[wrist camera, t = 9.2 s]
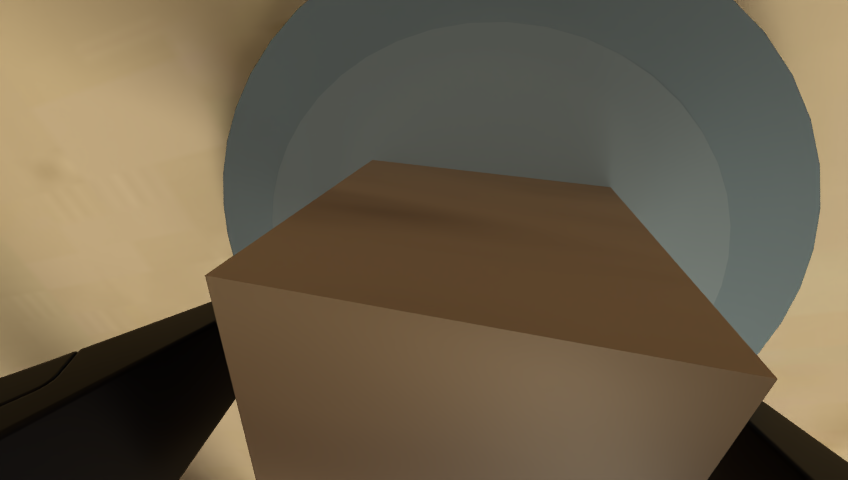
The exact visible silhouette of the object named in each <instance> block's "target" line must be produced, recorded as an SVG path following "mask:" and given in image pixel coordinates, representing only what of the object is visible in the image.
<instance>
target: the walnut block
mask: <svg viewBox="0 0 848 480" xmlns="http://www.w3.org/2000/svg"><path fill="white" fill-rule="evenodd" d="M205 277H206V281H207V285H208V289H209V293H210V297H211V301H212V305H213V309H214V313H215V317H216V321H217V325H218V329H219V333H220V337H221V341H222V345H223V349H224V353H225V357H226V361H227V365H228V369H229V373H230V377H231V381H232V385H233V389H234V393H235V397H236V401H237V405H238V409H239V413H240V417H241V421H242V426H243V430H244V434H245V438H246V442H247V446H248V450H249V454H250V458H251V462H252V466H253V470H254V474H255V478H256V480H707V479H708V478H709V477H710V475H711V474H712V472H713V471H714V469H715V468H716V467H717V465H718V464H719V462H720V461H721V459H722V458H723V457H724V455H725V454H726V452H727V451H728V449H729V448H730V447H731V445H732V444H733V442H734V441H735V439H736V438H737V436H738V435H739V434H740V432H741V431H742V429H743V428H744V426H745V425H746V424H747V422H748V421H749V419H750V418H751V416H752V415H753V414H754V412H755V411H756V409H757V408H758V406H759V405H760V403H761V402H762V401H763V399H764V398H765V396H766V395H767V393H768V392H769V391H770V389H771V388H772V386H773V385H774V383H775V382H776V381H777V378H776V377H775V376H774V374H773V373H772V372H771V371H770V370H769V369H768V368H767V366H766V365H765V364H764V363H763V362H762V361H761V359H760V358H759V357H758V356H757V355H756V354H755V353H754V351H753V350H752V349H751V348H750V347H749V346H748V345H747V343H746V342H745V341H744V340H743V339H742V338H741V336H740V335H739V334H738V333H737V332H736V331H735V330H734V328H733V327H732V326H731V325H730V324H729V323H728V322H727V320H726V319H725V318H724V317H723V316H722V315H721V313H720V312H719V311H718V310H717V309H716V308H715V307H714V305H713V304H712V303H711V302H710V301H709V300H708V299H707V297H706V296H705V295H704V294H703V293H702V292H701V291H700V289H699V288H698V287H697V286H696V285H695V284H694V282H693V281H692V280H691V279H690V278H689V277H688V276H687V274H686V273H685V272H684V271H683V270H682V269H681V268H680V266H679V265H678V264H677V263H676V262H675V261H674V259H673V258H672V257H671V256H670V255H669V254H668V253H667V251H666V250H665V249H664V248H663V247H662V246H661V245H660V243H659V242H658V241H657V240H656V239H655V238H654V236H653V235H652V234H651V233H650V232H649V231H648V230H647V228H646V227H645V226H644V225H643V224H642V223H641V222H640V220H639V219H638V218H637V217H636V216H635V215H634V213H633V212H632V211H631V210H630V209H629V208H628V207H627V205H626V204H625V203H624V202H623V201H622V200H621V199H620V197H619V196H618V195H617V194H616V193H615V192H614V191H613V189H612V188H611V187H604V186H595V185H587V184H578V183H569V182H561V181H552V180H543V179H534V178H526V177H517V176H508V175H500V174H491V173H482V172H474V171H465V170H456V169H447V168H439V167H430V166H421V165H413V164H404V163H395V162H386V161H378V160H371V161H370V162H368V163H367V164H366V165H364V166H363V167H361V168H360V169H358V170H357V171H355V172H354V173H353V174H351V175H350V176H348V177H347V178H345V179H344V180H342V181H341V182H340V183H338V184H337V185H335V186H334V187H332V188H331V189H329V190H328V191H326V192H325V193H324V194H322V195H321V196H319V197H318V198H316V199H315V200H313V201H312V202H311V203H309V204H308V205H306V206H305V207H303V208H302V209H300V210H299V211H298V212H296V213H295V214H293V215H292V216H290V217H289V218H287V219H286V220H285V221H283V222H282V223H280V224H279V225H277V226H276V227H274V228H273V229H272V230H270V231H269V232H267V233H266V234H264V235H263V236H261V237H260V238H258V239H257V240H256V241H254V242H253V243H251V244H250V245H248V246H247V247H245V248H244V249H243V250H241V251H240V252H238V253H237V254H235V255H234V256H232V257H231V258H230V259H228V260H227V261H225V262H224V263H222V264H221V265H219V266H218V267H217V268H215V269H214V270H212V271H211V272H209V273H208V274H206V275H205Z"/></svg>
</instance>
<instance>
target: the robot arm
mask: <svg viewBox="0 0 848 480" xmlns="http://www.w3.org/2000/svg"><path fill="white" fill-rule="evenodd" d="M235 399H236V397H235V393H234V389H233V385H232V381H231V377H230V373H229V369H228V365H227V361H226V357H225V353H224V349H223V345H222V341H221V337H220V333H219V329H218V325H217V321H216V317H215V313H214V309H213V305H212V302H209V303H206V304H204V305H201V306H198V307H196V308H193V309H190V310H187V311H185V312H182V313H179V314H176V315H174V316H171V317H168V318H165V319H163V320H160V321H157V322H154V323H152V324H149V325H146V326H143V327H141V328H138V329H135V330H133V331H130V332H127V333H124V334H122V335H119V336H116V337H113V338H111V339H108V340H105V341H102V342H100V343H97V344H94V345H91V346H89V347H86V348H83V349H81V350H80V351H79V352H72V353H69V354H66V355H64V356H61V357H58V358H56V359H53V360H50V361H47V362H45V363H42V364H39V365H36V366H33V367H30V368H27V369H25V370H22V371H19V372H16V373H13V374H10V375H7V376H4V377H1V378H0V480H179V479H180V478H181V476H182V475H183V473H184V472H185V470H186V469H187V468H188V466H189V465H190V463H191V462H192V460H193V459H194V458H195V456H196V455H197V453H198V452H199V450H200V449H201V448H202V446H203V445H204V443H205V442H206V440H207V439H208V437H209V436H210V435H211V433H212V432H213V430H214V429H215V427H216V426H217V425H218V423H219V422H220V420H221V419H222V417H223V416H224V415H225V413H226V412H227V410H228V409H229V407H230V406H231V405H232V403H233V402H234V400H235ZM707 480H848V462H847V461H845V460H844V459H843V458H841V457H840V456H838V455H837V454H836V453H834V452H833V451H831V450H830V449H829V448H827V447H826V446H824V445H823V444H822V443H820V442H819V441H817V440H816V439H815V438H813V437H812V436H810V435H809V434H808V433H806V432H805V431H804V430H802V429H801V428H799V427H798V426H797V425H795V424H794V423H792V422H791V421H790V420H788V419H787V418H785V417H784V416H783V415H781V414H780V413H778V412H777V411H776V410H774V409H773V408H771V407H770V406H769V405H767V404H766V403H764V402H763V401H762V402H761V403H760V405H759V406H758V408H757V409H756V411H755V412H754V414H753V415H752V416H751V418H750V419H749V421H748V422H747V424H746V425H745V426H744V428H743V429H742V431H741V432H740V434H739V435H738V436H737V438H736V439H735V441H734V442H733V444H732V445H731V447H730V448H729V449H728V451H727V452H726V454H725V455H724V457H723V458H722V459H721V461H720V462H719V464H718V465H717V467H716V468H715V469H714V471H713V472H712V474H711V475H710V477H709V478H708V479H707Z"/></svg>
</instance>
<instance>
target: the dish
mask: <svg viewBox="0 0 848 480" xmlns="http://www.w3.org/2000/svg"><path fill="white" fill-rule="evenodd" d="M371 160H378V161H386V162H395V163H404V164H413V165H421V166H430V167H439V168H447V169H456V170H465V171H474V172H482V173H491V174H500V175H508V176H517V177H526V178H534V179H543V180H552V181H561V182H569V183H578V184H587V185H595V186H604V187H611V188H612V189H613V191H614V192H615V193H616V194H617V195H618V196H619V197H620V199H621V200H622V201H623V202H624V203H625V204H626V205H627V207H628V208H629V209H630V210H631V211H632V212H633V213H634V215H635V216H636V217H637V218H638V219H639V220H640V222H641V223H642V224H643V225H644V226H645V227H646V228H647V230H648V231H649V232H650V233H651V234H652V235H653V236H654V238H655V239H656V240H657V241H658V242H659V243H660V245H661V246H662V247H663V248H664V249H665V250H666V251H667V253H668V254H669V255H670V256H671V257H672V258H673V259H674V261H675V262H676V263H677V264H678V265H679V266H680V268H681V269H682V270H683V271H684V272H685V273H686V274H687V276H688V277H689V278H690V279H691V280H692V281H693V282H694V284H695V285H696V286H697V287H698V288H699V289H700V291H701V292H702V293H703V294H704V295H705V296H706V297H707V299H708V300H709V301H710V302H711V303H712V304H713V305H714V307H715V308H716V309H717V310H718V311H719V312H720V313H721V315H722V316H723V317H724V318H725V319H726V320H727V322H728V323H729V324H730V325H731V326H732V327H733V328H734V330H735V331H736V332H737V333H738V334H739V335H740V336H741V338H742V339H743V340H744V341H745V342H746V343H747V345H748V346H749V347H750V348H751V349H752V350H753V351H754V353H755V354H756V355H757V354H758V353H759V352H760V351H761V349H762V348H763V347H764V345H765V344H766V343H767V341H768V340H769V339H770V337H771V336H772V335H773V333H774V332H775V330H776V329H777V328H778V326H779V325H780V324H781V322H782V321H783V319H784V317H785V315H786V313H787V311H788V309H789V308H790V306H791V304H792V302H793V300H794V298H795V296H796V295H797V293H798V291H799V289H800V287H801V284H802V281H803V278H804V275H805V272H806V269H807V267H808V264H809V261H810V258H811V255H812V252H813V249H814V243H815V237H816V231H817V225H818V219H819V213H820V163H819V159H818V154H817V149H816V144H815V139H814V134H813V129H812V124H811V119H810V117H809V114H808V112H807V109H806V107H805V104H804V102H803V100H802V97H801V95H800V92H799V90H798V87H797V85H796V83H795V80H794V78H793V75H792V73H791V72H790V70H789V69H788V67H787V66H786V64H785V63H784V61H783V60H782V58H781V57H780V55H779V54H778V52H777V51H776V49H775V48H774V46H773V45H772V43H771V41H770V40H769V38H768V37H767V35H766V34H765V32H764V31H763V30H762V29H761V28H760V27H759V26H758V25H757V24H756V23H755V22H754V21H753V20H752V19H751V18H750V17H749V16H748V15H747V14H746V13H745V12H744V11H743V10H742V9H741V8H740V7H739V6H738V4H737V3H736V2H735V1H734V0H308V1H307V2H306V3H304V4H303V5H302V6H301V7H300V8H299V9H298V10H297V11H296V12H295V13H294V14H293V15H292V17H291V18H290V19H289V20H288V21H287V23H286V24H285V25H284V26H283V27H282V28H281V30H280V31H279V32H278V33H277V34H276V36H275V37H274V38H273V39H272V40H271V42H270V43H269V45H268V46H267V48H266V50H265V51H264V53H263V55H262V56H261V58H260V59H259V61H258V63H257V64H256V66H255V68H254V69H253V71H252V72H251V74H250V76H249V79H248V81H247V83H246V86H245V88H244V90H243V93H242V95H241V97H240V100H239V102H238V104H237V107H236V110H235V114H234V118H233V121H232V125H231V129H230V133H229V136H228V140H227V147H226V155H225V164H224V172H223V190H224V211H225V218H226V225H227V232H228V237H229V241H230V244H231V248H232V252H233V256H234V255H235V254H237V253H238V252H240V251H241V250H243V249H244V248H245V247H247V246H248V245H250V244H251V243H253V242H254V241H256V240H257V239H258V238H260V237H261V236H263V235H264V234H266V233H267V232H269V231H270V230H272V229H273V228H274V227H276V226H277V225H279V224H280V223H282V222H283V221H285V220H286V219H287V218H289V217H290V216H292V215H293V214H295V213H296V212H298V211H299V210H300V209H302V208H303V207H305V206H306V205H308V204H309V203H311V202H312V201H313V200H315V199H316V198H318V197H319V196H321V195H322V194H324V193H325V192H326V191H328V190H329V189H331V188H332V187H334V186H335V185H337V184H338V183H340V182H341V181H342V180H344V179H345V178H347V177H348V176H350V175H351V174H353V173H354V172H355V171H357V170H358V169H360V168H361V167H363V166H364V165H366V164H367V163H368V162H370V161H371Z"/></svg>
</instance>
